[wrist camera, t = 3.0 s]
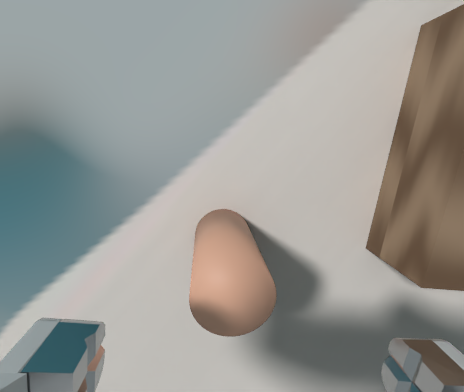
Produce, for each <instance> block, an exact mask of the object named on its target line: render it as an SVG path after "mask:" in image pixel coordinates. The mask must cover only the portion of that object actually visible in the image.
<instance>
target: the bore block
mask: <svg viewBox="0 0 464 392" xmlns="http://www.w3.org/2000/svg"><path fill="white" fill-rule="evenodd" d="M366 249H368V250H369V251H371V252H372V253H373V254H375V255H376V256H378V257H379V258H380V259H382V260H383V261H385V262H386V263H387V264H389V265H390V266H392V267H393V268H394V269H396V270H397V271H399V272H400V273H401V274H403V275H404V276H406V277H407V278H408V279H410V280H411V281H413V282H414V283H416V284H417V285H418V286H420V287H421V288H432V289H446V290H460V291H464V4H463V5H461V6H459V7H457V8H455V9H453V10H451V11H449V12H447V13H445V14H443V15H441V16H439V17H437V18H435V19H433V20H431V21H429V22H427V23H425V24H423V25H421V29H420V33H419V37H418V41H417V45H416V49H415V53H414V57H413V61H412V65H411V69H410V73H409V77H408V81H407V85H406V89H405V93H404V97H403V101H402V105H401V109H400V113H399V117H398V121H397V125H396V129H395V133H394V137H393V141H392V145H391V149H390V153H389V157H388V161H387V165H386V169H385V173H384V177H383V181H382V185H381V189H380V193H379V197H378V201H377V205H376V209H375V213H374V217H373V221H372V225H371V229H370V234H369V238H368V242H367V246H366Z"/></svg>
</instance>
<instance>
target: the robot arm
mask: <svg viewBox="0 0 464 392" xmlns="http://www.w3.org/2000/svg"><path fill="white" fill-rule="evenodd" d="M104 337H105V324H104V322H97V321H84V320H71V319H53V318H42V319H40V320H38V321H36V322H35V323H34V325H33V326H32V327H31V328H30V329H29V330H28V331H27V332H26V334H25V335H24V336H23V337H22V338H21V339H20V340H19V341H18V343H17V344H16V345H15V346H14V347H13V348H12V349H11V350H10V352H9V353H8V354H7V355H6V356H5V357H4V358H3V359H2V360H1V362H0V392H95V390H96V388H97V385H98V383H99V380H100V377H101V373H102V369H103V364H104V357H105V349H104V348H103V347H102V346H101V343H102V341H103V339H104ZM388 351H389V353H390V356H389V357H388V358H387V359H386V360H385V361H384V362H383V366H382V369H381V375H382V382H383V384H384V387H385V389H386V391H387V392H464V355H463V354H462V353H461V352H460V351H459V350H458V349H457V348H455V347H454V346H453V345H452V344H451V343H450V342H448V341H446V340H443V339H416V338H393V339H392V340H391V341H390V343H389V346H388Z"/></svg>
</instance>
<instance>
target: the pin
mask: <svg viewBox="0 0 464 392" xmlns="http://www.w3.org/2000/svg"><path fill="white" fill-rule="evenodd" d="M189 303H190V309H191V312H192V314H193V316H194V318H195V319H196V321H197V322H198V323H199V324H200V325H201V326H202V327H203V328H204V329H206V330H207V331H209V332H211V333H214V334H217V335H221V336H240V335H244V334H247V333H249V332H251V331H254V330H255V329H257V328H258V327H260V326H261V325H262V324H263V323H264V322H265V321H266V320H267V319H268V318H269V316H270V315H271V313H272V311H273V309H274V307H275V303H276V286H275V283H274V281H273V279H272V276H271V274H270V272H269V270H268V268H267V266H266V264H265V261H264V259H263V257H262V255H261V253H260V251H259V249H258V246H257V244H256V242H255V240H254V238H253V236H252V234H251V231H250V229H249V227H248V225H247V223H246V221H245V220H244V218H243V217H242V216H241V215H239V214H238V213H236V212H234V211H231V210H227V209H219V210H215V211H212V212H210V213H208V214H207V215H205V216H204V217H203V218H202V219H201V220H200V222H199V223H198V225H197V228H196V233H195V243H194V254H193V264H192V275H191V285H190V296H189Z"/></svg>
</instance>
